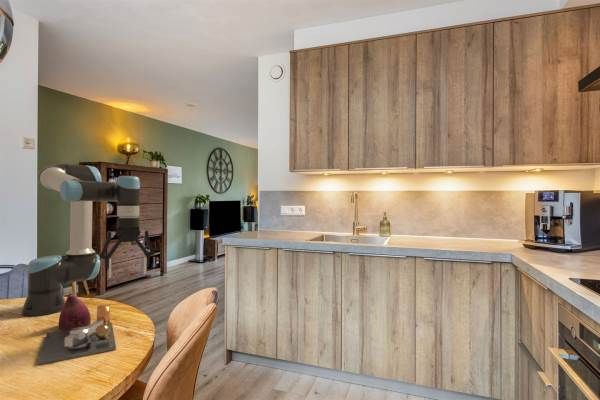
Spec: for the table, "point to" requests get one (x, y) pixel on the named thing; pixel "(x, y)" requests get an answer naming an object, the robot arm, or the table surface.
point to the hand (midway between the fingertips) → (127, 275)
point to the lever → (88, 327)
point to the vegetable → (74, 314)
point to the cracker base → (58, 351)
